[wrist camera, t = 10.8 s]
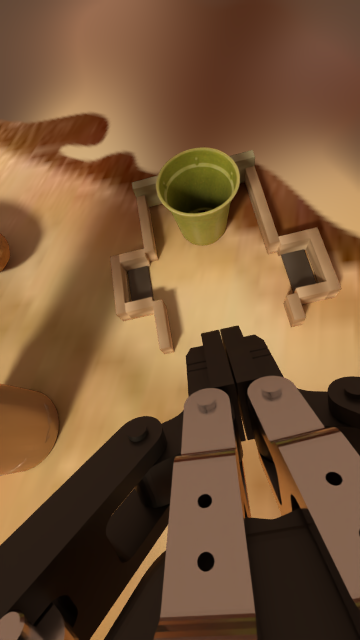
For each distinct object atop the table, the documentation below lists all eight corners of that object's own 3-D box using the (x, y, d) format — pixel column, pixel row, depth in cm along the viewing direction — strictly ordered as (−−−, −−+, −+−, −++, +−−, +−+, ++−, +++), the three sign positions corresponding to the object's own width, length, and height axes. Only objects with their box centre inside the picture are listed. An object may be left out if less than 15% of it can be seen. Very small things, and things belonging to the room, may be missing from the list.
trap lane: (127, 361, 39) (116, 354, 35) (110, 210, 47) (99, 191, 43) (342, 316, 36) (354, 302, 32) (283, 164, 44) (288, 140, 41)
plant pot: (235, 194, 44) (236, 141, 36) (242, 253, 41) (243, 209, 33) (170, 203, 45) (155, 153, 37) (171, 260, 42) (155, 220, 34)
